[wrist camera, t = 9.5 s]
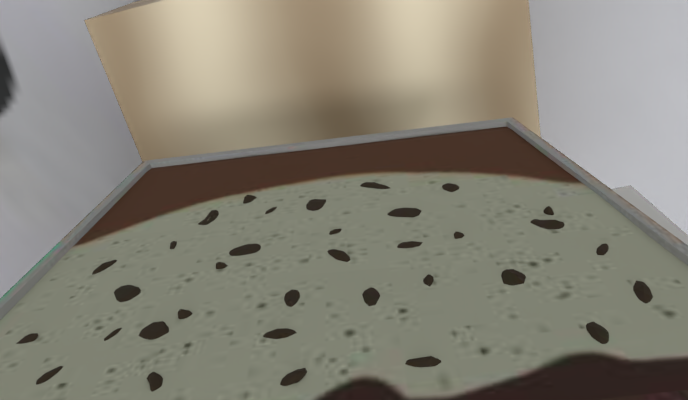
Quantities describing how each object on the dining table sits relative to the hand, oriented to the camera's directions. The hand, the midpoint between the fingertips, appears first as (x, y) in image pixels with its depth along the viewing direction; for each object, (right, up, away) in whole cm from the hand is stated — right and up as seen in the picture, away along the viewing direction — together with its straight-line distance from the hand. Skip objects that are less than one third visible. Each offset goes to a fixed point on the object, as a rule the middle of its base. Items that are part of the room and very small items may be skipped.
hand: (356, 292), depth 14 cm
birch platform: (0, +5, +12) cm, 13 cm away
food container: (0, +1, +2) cm, 3 cm away
